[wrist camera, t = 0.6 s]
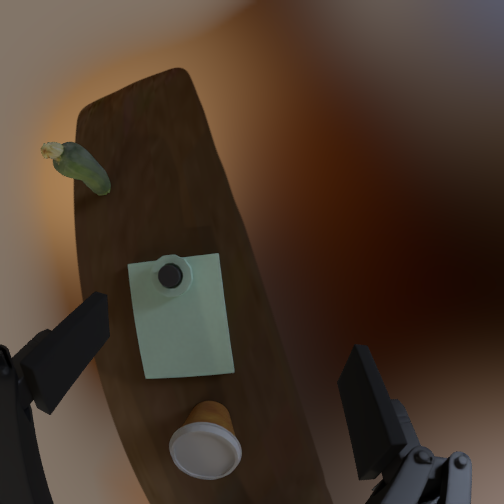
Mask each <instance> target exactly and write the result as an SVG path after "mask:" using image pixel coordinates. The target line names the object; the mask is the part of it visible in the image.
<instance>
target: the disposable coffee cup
mask: <svg viewBox="0 0 504 504" xmlns="http://www.w3.org/2000/svg"><path fill="white" fill-rule="evenodd" d="M169 450H170V454H171V456H172V459H173V461H174V463H175V464H176V466H177V467H178V468H179V469H180V470H182V471H183V472H184V473H186V474H188V475H190V476H192V477H195V478H199V479H205V480H212V479H218V478H222V477H224V476H226V475H228V474H230V473H231V472H232V471H233V470H234V469H235V467H236V466H237V465H238V464H239V462H240V460H241V456H242V450H241V446H240V443H239V441H238V440H237V438H236V437H235V433H234V430H233V426H232V422H231V418H230V414H229V412H228V410H227V409H226V407H224V406H223V405H222V404H220V403H218V402H215V401H203V402H201V403H198V404H197V405H196V406H195V407H194V408H193V410H192V411H191V413H190V414H189V416H188V417H187V419H186V421H185V422H184V424H183V425H182V427H181V428H179V429H178V430H177V431H176V432H175V433H174V434H173V436H172V437H171V439H170V443H169Z"/></svg>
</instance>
